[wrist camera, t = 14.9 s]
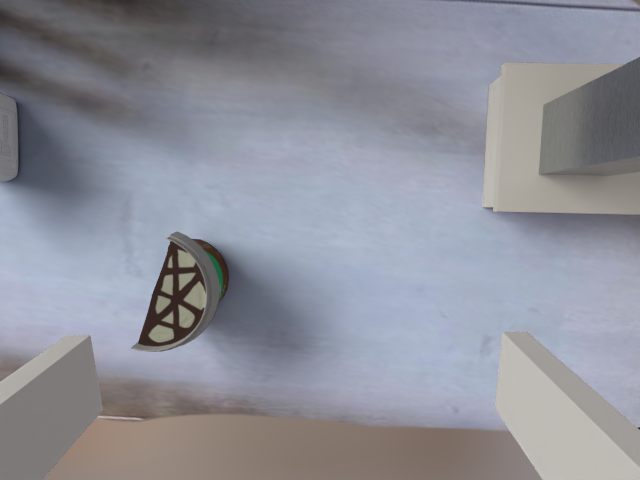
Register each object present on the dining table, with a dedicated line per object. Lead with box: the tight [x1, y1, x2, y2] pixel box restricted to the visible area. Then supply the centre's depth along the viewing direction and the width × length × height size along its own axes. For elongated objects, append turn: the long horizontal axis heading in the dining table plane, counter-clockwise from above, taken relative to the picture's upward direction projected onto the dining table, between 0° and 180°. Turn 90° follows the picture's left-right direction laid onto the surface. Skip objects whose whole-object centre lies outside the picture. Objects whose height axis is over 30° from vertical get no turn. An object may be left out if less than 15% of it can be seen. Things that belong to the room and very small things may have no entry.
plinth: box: [482, 63, 640, 215], centre depth 40 cm, size 15×15×5 cm
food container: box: [132, 232, 229, 352], centre depth 40 cm, size 12×6×10 cm, turn 160°
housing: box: [539, 57, 640, 176], centre depth 30 cm, size 7×7×16 cm
